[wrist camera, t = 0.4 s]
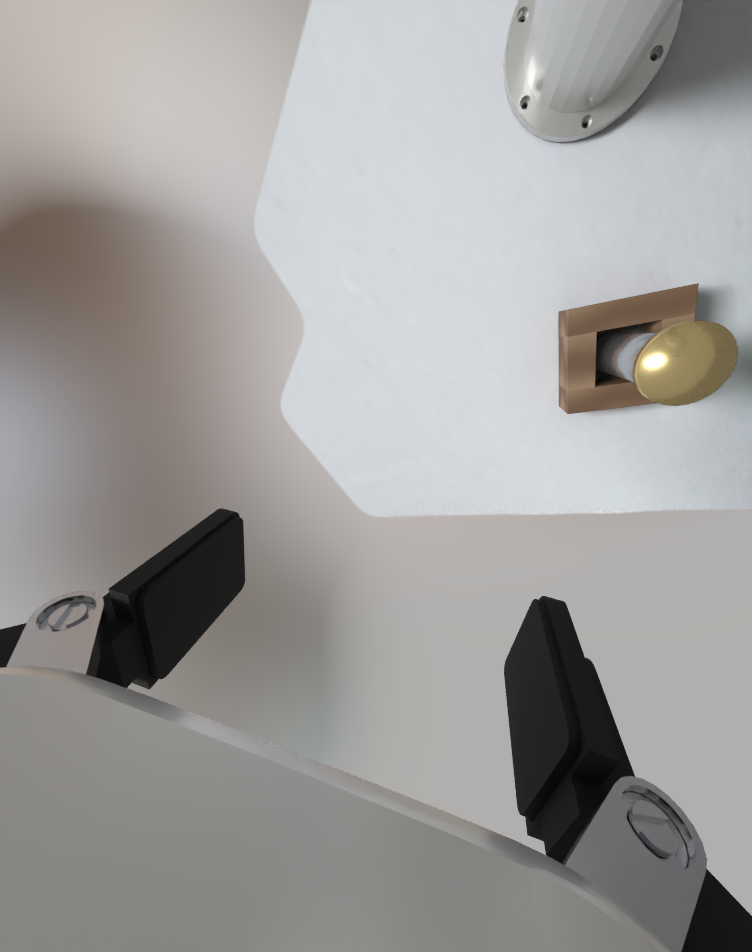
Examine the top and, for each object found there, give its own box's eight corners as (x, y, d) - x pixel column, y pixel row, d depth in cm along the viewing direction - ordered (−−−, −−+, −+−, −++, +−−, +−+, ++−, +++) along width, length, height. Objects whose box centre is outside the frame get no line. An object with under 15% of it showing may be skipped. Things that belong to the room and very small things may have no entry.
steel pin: (581, 329, 36) (641, 330, 24) (644, 318, 34) (744, 312, 22) (580, 383, 38) (635, 410, 26) (640, 375, 36) (730, 399, 24)
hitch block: (558, 311, 36) (568, 309, 32) (673, 288, 33) (698, 283, 29) (559, 406, 39) (568, 414, 36) (663, 392, 36) (684, 399, 33)
